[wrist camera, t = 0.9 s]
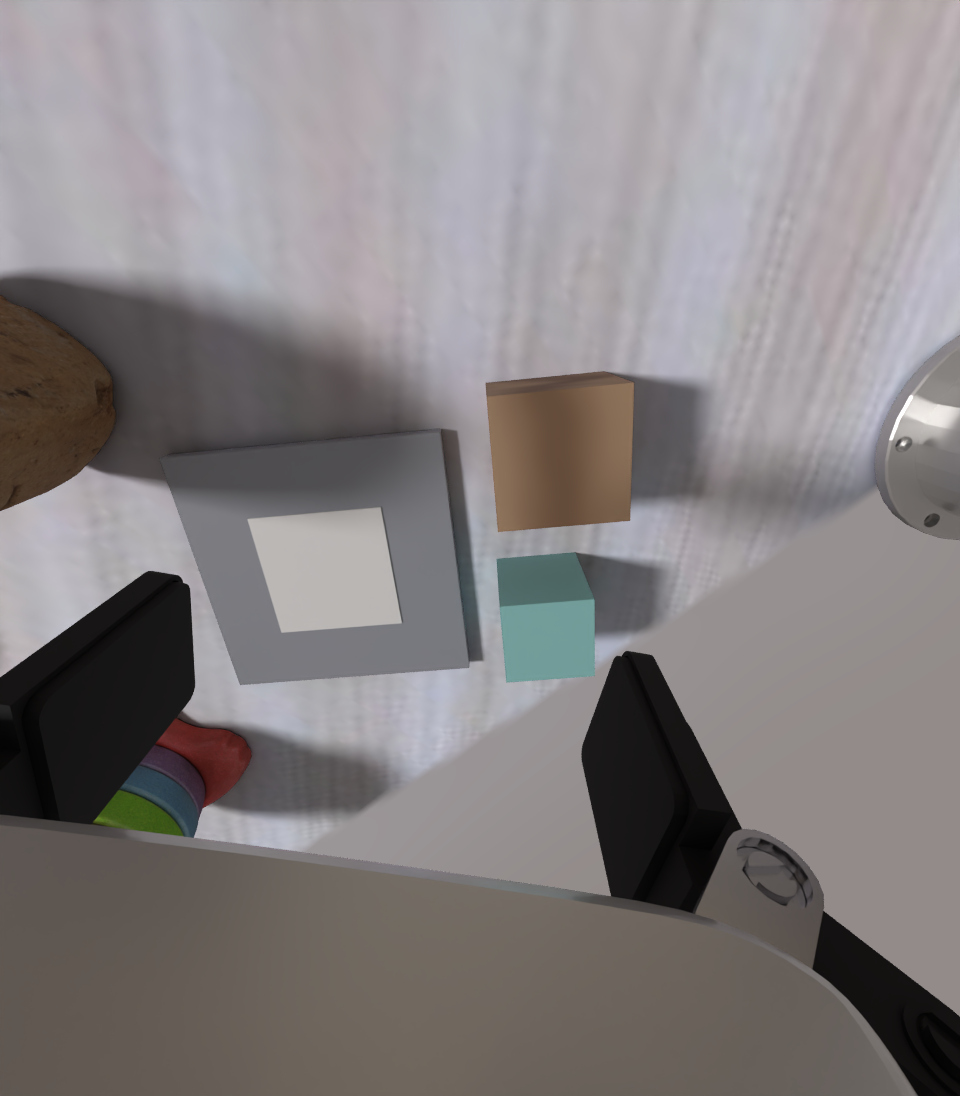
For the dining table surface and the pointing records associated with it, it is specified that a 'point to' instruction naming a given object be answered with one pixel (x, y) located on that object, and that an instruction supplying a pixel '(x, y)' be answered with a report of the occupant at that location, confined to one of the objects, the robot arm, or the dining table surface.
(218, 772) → the stacking bear
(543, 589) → the teal block
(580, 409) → the walnut cube
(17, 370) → the brown rounded lumpy part
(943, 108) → the dining table surface
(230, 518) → the plate
